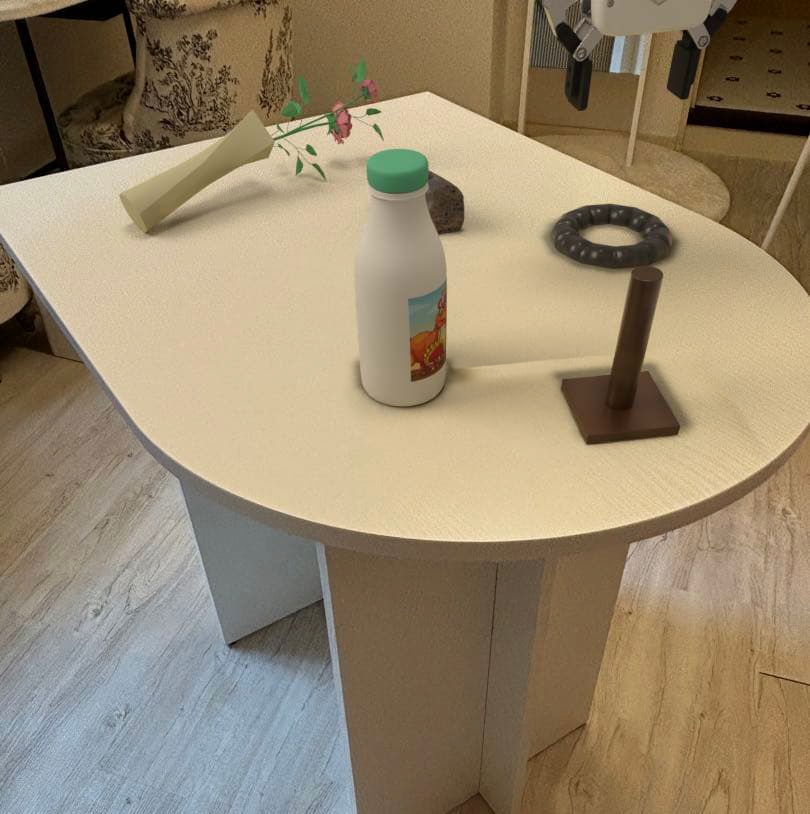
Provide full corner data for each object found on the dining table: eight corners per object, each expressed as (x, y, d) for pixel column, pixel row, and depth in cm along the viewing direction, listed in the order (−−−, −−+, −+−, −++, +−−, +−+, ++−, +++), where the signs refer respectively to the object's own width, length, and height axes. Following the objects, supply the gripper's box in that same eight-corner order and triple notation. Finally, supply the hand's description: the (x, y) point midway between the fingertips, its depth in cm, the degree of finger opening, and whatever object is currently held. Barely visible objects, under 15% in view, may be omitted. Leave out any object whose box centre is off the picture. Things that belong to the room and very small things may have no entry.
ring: (644, 220, 94) (649, 195, 92) (685, 275, 85) (692, 248, 83) (537, 229, 93) (540, 204, 91) (567, 285, 84) (571, 259, 82)
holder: (646, 379, 73) (679, 243, 63) (678, 434, 67) (719, 295, 58) (560, 388, 72) (581, 252, 63) (586, 444, 67) (612, 305, 57)
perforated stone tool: (357, 210, 98) (353, 151, 92) (392, 198, 100) (390, 140, 95) (432, 256, 89) (432, 195, 84) (468, 243, 91) (470, 181, 86)
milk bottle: (381, 418, 70) (368, 188, 55) (349, 371, 74) (329, 149, 60) (460, 395, 72) (468, 168, 57) (423, 351, 76) (422, 131, 62)
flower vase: (157, 274, 103) (361, 141, 112) (191, 284, 94) (410, 139, 103) (102, 185, 96) (325, 51, 105) (132, 187, 86) (373, 40, 95)
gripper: (576, -133, 56) (550, 125, 68) (800, -149, 58) (735, 104, 71) (541, -147, 61) (523, 96, 74) (748, -161, 63) (696, 77, 76)
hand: (627, 100), depth 72 cm, fingers open, 9 cm apart
